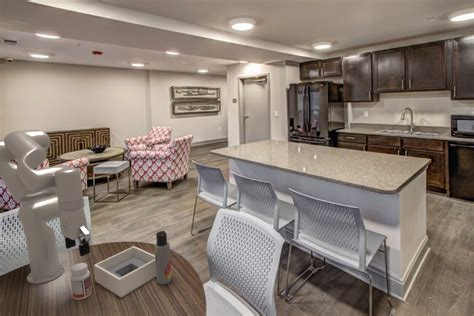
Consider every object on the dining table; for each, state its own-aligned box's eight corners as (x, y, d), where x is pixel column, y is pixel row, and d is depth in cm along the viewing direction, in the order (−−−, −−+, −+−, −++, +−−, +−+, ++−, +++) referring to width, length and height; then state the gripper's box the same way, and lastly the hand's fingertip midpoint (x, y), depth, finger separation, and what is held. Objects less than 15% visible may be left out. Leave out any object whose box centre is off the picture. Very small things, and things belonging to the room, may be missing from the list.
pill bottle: (90, 287, 109) (86, 260, 106) (94, 295, 104) (90, 267, 102) (71, 294, 105) (67, 266, 103) (75, 303, 100) (71, 273, 98)
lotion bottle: (174, 278, 114) (172, 230, 110) (165, 286, 108) (162, 237, 105) (163, 274, 116) (160, 228, 112) (153, 282, 111) (150, 234, 107)
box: (95, 281, 112) (93, 265, 111) (135, 260, 127) (134, 246, 125) (121, 297, 102) (119, 279, 101) (161, 273, 117) (159, 257, 116)
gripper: (48, 203, 100) (55, 248, 103) (72, 212, 90) (79, 262, 93) (70, 197, 106) (76, 240, 109) (95, 205, 96) (101, 252, 99)
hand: (77, 250), depth 101 cm, fingers open, 9 cm apart
